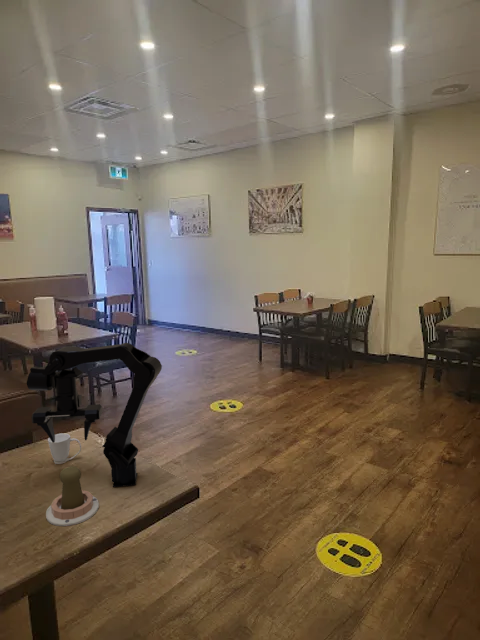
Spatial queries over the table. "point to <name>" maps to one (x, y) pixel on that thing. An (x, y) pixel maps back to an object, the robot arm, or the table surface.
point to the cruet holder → (72, 511)
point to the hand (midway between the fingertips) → (70, 440)
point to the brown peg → (71, 488)
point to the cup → (61, 448)
